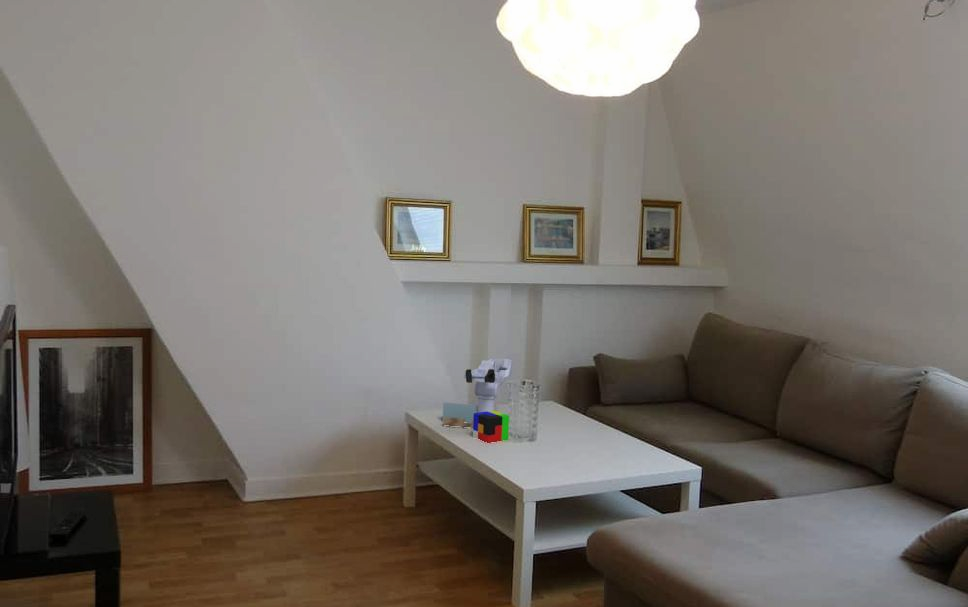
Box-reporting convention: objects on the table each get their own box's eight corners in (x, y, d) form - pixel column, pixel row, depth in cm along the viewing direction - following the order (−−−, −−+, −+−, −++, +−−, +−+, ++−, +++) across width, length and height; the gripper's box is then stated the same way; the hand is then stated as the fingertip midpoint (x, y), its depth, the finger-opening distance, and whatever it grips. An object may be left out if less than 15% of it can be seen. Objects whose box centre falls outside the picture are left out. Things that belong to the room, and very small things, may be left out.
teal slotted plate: (442, 422, 384) (443, 403, 383) (443, 421, 386) (444, 402, 385) (475, 424, 382) (476, 406, 381) (476, 423, 383) (476, 405, 383)
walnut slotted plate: (443, 426, 377) (443, 418, 376) (444, 425, 379) (444, 417, 378) (491, 430, 373) (491, 422, 373) (492, 429, 375) (492, 420, 375)
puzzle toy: (472, 437, 361) (473, 413, 360) (492, 434, 367) (493, 410, 366) (487, 444, 353) (488, 418, 352) (508, 440, 359) (509, 415, 358)
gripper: (467, 363, 387) (458, 370, 374) (500, 362, 383) (493, 370, 370) (468, 379, 388) (459, 387, 375) (501, 379, 384) (494, 387, 371)
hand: (476, 380), depth 373 cm, fingers open, 7 cm apart
